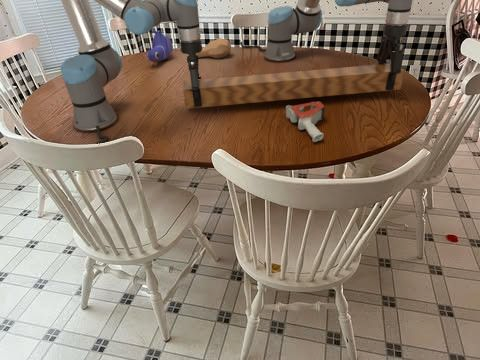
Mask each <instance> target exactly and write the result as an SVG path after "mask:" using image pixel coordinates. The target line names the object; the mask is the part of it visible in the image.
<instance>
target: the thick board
mask: <svg viewBox="0 0 480 360" xmlns="http://www.w3.org/2000/svg"><path fill="white" fill-rule="evenodd" d="M405 71H406V70H405V69H404V68H402V67H401V73H397V74H396V79H395V83H394V88H393V90H392V91H397V90H398V91H399V90H401V89H402V84H403V81H404V76H405ZM388 72H390V63H387V64H369V65H358V66H357V65H356V66H346V67H345V66H344V67H333V68H322V69H312V70H311V69H310V70H300V71H299V70H298V71H288V72H287V71H286V72H277V73H275V72H274V73H264V74H263V73H262V74H254V75H253V74H252V75H242V76H230V77H217V78H207V79H205V78H204V79H198V82H199V88H200V95H201V103H202V106H201V107H194V99H193V92H192V91H190V89H192V85H191V80H185V81H183V87H182V91H183V97H184V104H185V109H186V110H188V109H197V108H208V107H219V106H229V105H230V106H231V105H241V104H242V105H243V104H253V103H254V104H255V103H264V102H274V101H286V100H287V101H288V100H297V99H299V100H300V99H309V98H321V97H331V96H332V97H333V96H344V95H355V94H365V93H374V92H386V91H389V90H385V89H386V84H387V79H388V74H389V73H388Z"/></svg>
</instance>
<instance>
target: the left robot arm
mask: <svg viewBox="0 0 480 360" xmlns="http://www.w3.org/2000/svg"><path fill="white" fill-rule="evenodd" d="M60 1H61V4H62V7H63V8H64V11H65V13H66V15H67V18H68V21H69V23H70V25H71V28H72V31H73V32H74V35H75V37H76V39H77V42H78V44H79V46H78V48H77V53H78V54H77V55H73V56H72V57H71V56H70V57H68V58H66V59H65V60H64V61H63V62H62V63H61V65H60V72H61V77H62V80H63V82H64V84H65V87H66V90H67V93H68V96H69V99H70V101H71V104H72V108H73V114H72V117H73V118H72V119H73V125H74V128H75V129H76V131H78V132H84V133H92V132H96V133H97V137H98V138H100V139H101V140H99V141H96V143H95V144H98V143H101V144H103V143H105V142H107V141H108V140H109V136H107V135H101V131H102V130H105V129H107V128H110V127H111V126H113V125H115V124H116V122H117V121H118V116H117V114H116V111H115V110H114V108H113V107H112V105H111V103H110V102H109V101H108V99H107V96H106V92H105V89H104V87H106V86H107V85H108V84H109V83H111V82H112V81H113V80H116V78H117V77H118V76H119V75H120V73H121V71H122V69H123V61H122V58H121V55H120V53H119V52H118V51H117V50H115V48H114V47H112V46H111V44H110V41H108V40H106V39H105V38H104V36H103V34H102V32H101V29H100V27H99V24H98V21H97V19H96V17H95V14H94V10H93V8H92V6H91V3H90V0H60ZM93 1H94V2H96V3H97V4H98V5H100V6H102V7H103V8H104V9H106V10H108V11H109V12H111V13H112V14H114V15H115V16H117V17H118V18H120V19H121V20H122V21H124V25H125V27H126V28H127V29H128V31H129V32H131V33H132V34H134V35H137V36H141V35H142V36H143V35H145V34H147V33H149V32H152V30H153V29H154V28H155V27H157V26H158V25H160V24H161V23H176V29H177V34H178V35H177V36H178V40H179V48H180V52H181V53H182V54H185V55H187V56H186V62H187V64H188V65H187V67H188V71H189V76H190V81H191V85H192V89H190V91H192V92H193V99H194V107H199V108H202V107H201V106H202V103H201V95H200V88H199V82H198V80H202V76H201V75H200V73H199V70H200V69H199V58H198V55H196V53H199V52H201V51H202V48H203V45H202V42H203V41H202V40H201V37H202V35H201V32H203V29H202V28H201V27H200V17H199V15H200V14H199V3H198V0H93Z"/></svg>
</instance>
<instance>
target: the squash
mask: <svg viewBox="0 0 480 360" xmlns="http://www.w3.org/2000/svg"><path fill="white" fill-rule="evenodd" d="M231 51H232V45H231V42H230V40H229V39H226V38H221V37H218V38H216V39H213V40H211V41H209V42H208V44H207V45H205V46H202V51H201V52H199V53H196V55H198V59H199V58H203V57H211V58H214V59H221V58H225V57H227V56H228V55H229V54H231Z"/></svg>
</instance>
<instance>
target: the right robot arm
mask: <svg viewBox="0 0 480 360" xmlns="http://www.w3.org/2000/svg"><path fill="white" fill-rule="evenodd" d="M320 1H321V0H298V1H297V2H296V6H295V8H293V7H292V6H290V5H285V6H278V7H275V8H273V9H271V10H270V11H269V12H268V20H267V24H268V25H267V31H268V41H267V42H268V43H267V47H266V48H262V46H260V45H244V44H243V41H240V46H241V48H244V49H249V48H250V49H251V48H258V49H259V50H260V51H261V52H265V54H264V59H265V60H266V61H268V62H273V63H284V62H290V61H293V60H294V59H295V58H296V54H295V49H294V46H293V41H292V37H293V35H299V34H305V33H311V32H314V31H316V30H318V28H319V27H321V24H322V22H323V21H322V20H323V11H322V8H321V5H320ZM377 2H382V3H387V5H388V6H387V10H386V14H385V15H386V16H385V19H384V20H385V24H384V27H383V35H382V36H381V40H380V45H379V49H378V52H377V55H376V61H377V65H379V64H388V61H387V60H388V58H389V64H390V72H388V73H389V74H388V79H387V84H386V89H385V90H388V91H394V90H393V88H394V83H395V79H396V74H397V73H401V68H402V65H403V58H404V56H403V55H404V51H405V47H406V45H405V44H402V38H403V37H405V36H406V35H407V29H408V23H409V19H410V16H411V10H412V5H413V2H414V0H334V3H335V4H336V5H337V6H338V7H352V6H357V5H363V4H371V3H377Z"/></svg>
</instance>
